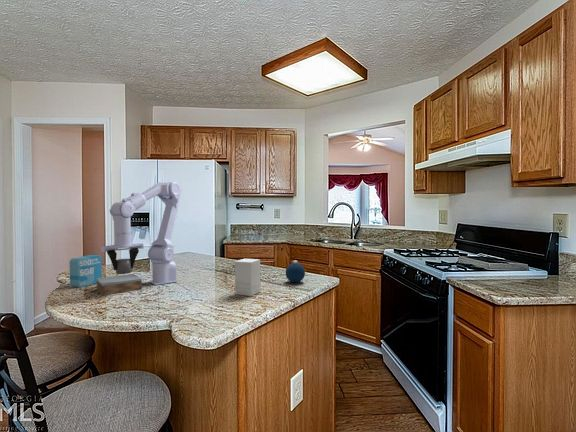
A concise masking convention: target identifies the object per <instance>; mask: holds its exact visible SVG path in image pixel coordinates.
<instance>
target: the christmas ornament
mask: <svg viewBox="0 0 576 432" xmlns="http://www.w3.org/2000/svg"><path fill="white" fill-rule="evenodd" d="M305 276H306V270H305V268H304V266H303V265H302V264H300V263H299V262H298V260H292V263H291V264H289V265H287V267H286V269H285V277H286V279H287V280H288V281H289V282H291V283H293V282H294V283H297V284H298V283H299V282H302V281H303V279H304V278H305Z"/></svg>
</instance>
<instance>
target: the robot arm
mask: <svg viewBox="0 0 576 432" xmlns="http://www.w3.org/2000/svg"><path fill="white" fill-rule="evenodd" d="M181 194H182V189H181V186H180V185H179V183H178V182H176V181H172V182H158V183H155V184H153V185H152V186H151V187H149V188H148V189H146V190H144V191H143V192H141V193H139V192H132V193H131V194H130V196H128V197H127V198H122V199H121V201H117V202H114V203H113V204H112V205H111V207H110V209H109V213H110V215H111V216H112V221H113V238H114V239H113V240H114V244H112V245H111V244H110V245H102V246H101V247H100V251H101V253H106V254H107V256H108V257H109V259H110V262H111V264H112V269H113V270H114V271H116V270H117V264H116V260H117V257H118V256H117V254H118V253H117V251H128V255H129V259H131V269H134V267H135V261H136V259H137V256H138V255H139V253H140V251H139V250H140V249H141V250H142V249H144V243H132V235H131V234H132V232H131V231H132V229H131V228H132V227H131V226H132V225H131V223H132V222H131V217H132V216H133V215H134V213H135V211H137V210H139V209H141V208H142V207H144V206H145V204H146V202H147V201H149V200H151V199H153V198H154V197H158V198H159V199H160V201H162V203H164V205H165V207H164V211H163V214H162V219H161V224H160V227H159V229H158V234H157V239H156V240H154V241H152V243H151V246H150V248H149V249H148V252H147V258H148V259H149V260H150V263H151V267H152V270H151V271H152V274H151V275H152V280H149V283H150V284H153V285H154V286H157V285H165V284H171V283H176V282H178V281H177V265H176V262H175V261H174V260H173V259H174V256H175V250H174V249H175V245H174V244H173V243H172V242H171V239H172V237H173V232H174V228H175V223H176V219H177V214H178V211H179V207H180V197H181Z"/></svg>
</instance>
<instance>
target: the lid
mask: <svg viewBox="0 0 576 432" xmlns="http://www.w3.org/2000/svg"><path fill="white" fill-rule="evenodd" d="M97 281H98V282H99V283H100V284H101V285H102V286H107V285H114V284H121V283H128V282H135V281H142V277H139V276H138V275H136V274H135V273H128V274H120V275H114V276H113V275H112V276H108V277H102V278H97Z"/></svg>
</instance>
